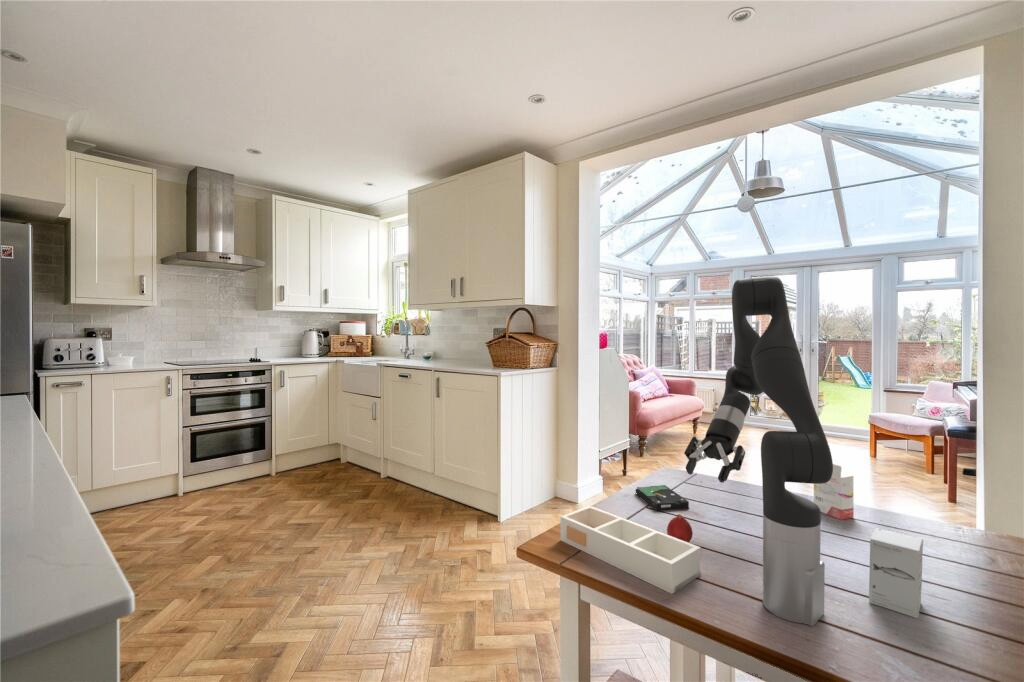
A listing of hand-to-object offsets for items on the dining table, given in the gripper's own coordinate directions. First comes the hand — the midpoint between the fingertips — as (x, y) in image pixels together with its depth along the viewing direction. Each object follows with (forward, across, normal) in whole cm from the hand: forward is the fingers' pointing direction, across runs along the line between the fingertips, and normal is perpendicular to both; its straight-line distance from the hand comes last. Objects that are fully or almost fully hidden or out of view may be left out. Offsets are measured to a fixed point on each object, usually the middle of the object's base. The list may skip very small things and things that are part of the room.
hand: (704, 476), depth 119 cm
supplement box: (+12, +39, +9) cm, 42 cm away
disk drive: (+3, -20, +19) cm, 28 cm away
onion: (+19, 0, +2) cm, 19 cm away
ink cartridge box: (-17, +17, +38) cm, 45 cm away
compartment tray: (+28, -6, -8) cm, 30 cm away
